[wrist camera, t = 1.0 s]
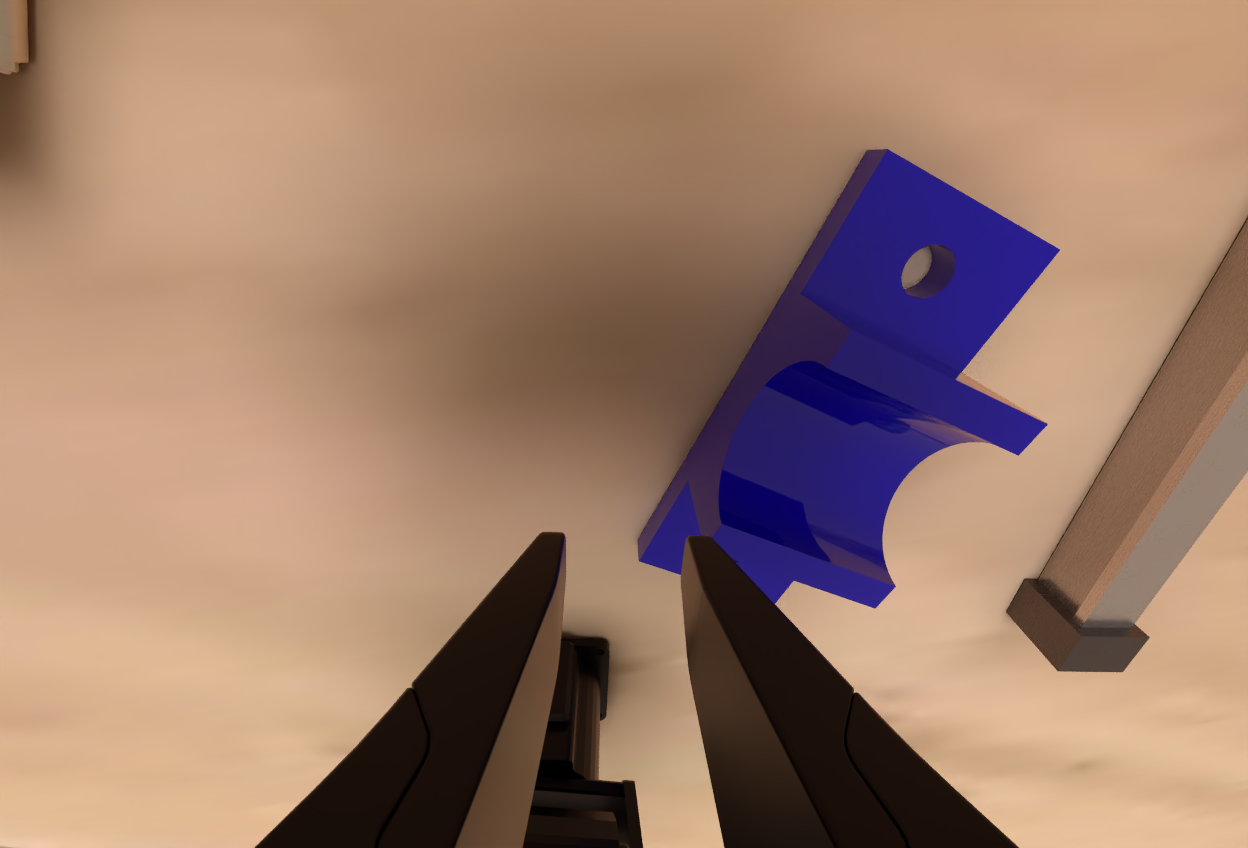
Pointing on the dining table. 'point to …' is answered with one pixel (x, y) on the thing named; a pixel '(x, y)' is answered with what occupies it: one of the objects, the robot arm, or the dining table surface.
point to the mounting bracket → (854, 387)
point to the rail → (1150, 490)
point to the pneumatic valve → (13, 35)
